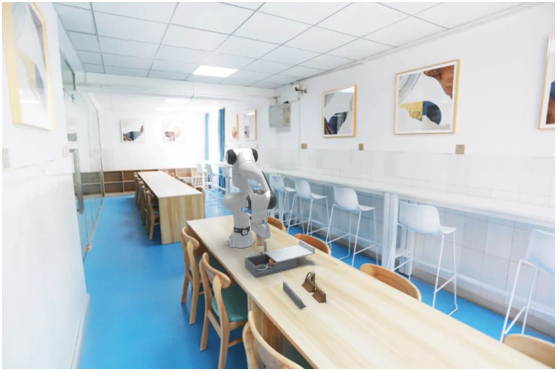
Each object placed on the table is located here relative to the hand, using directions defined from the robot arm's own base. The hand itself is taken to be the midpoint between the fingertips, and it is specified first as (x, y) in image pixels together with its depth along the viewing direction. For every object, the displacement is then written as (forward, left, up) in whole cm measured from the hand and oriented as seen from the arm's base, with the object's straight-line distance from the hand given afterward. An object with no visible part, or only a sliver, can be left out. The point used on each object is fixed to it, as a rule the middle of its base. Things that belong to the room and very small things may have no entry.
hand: (260, 242), depth 163 cm
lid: (0, +19, -11) cm, 22 cm away
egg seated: (0, +7, -17) cm, 18 cm away
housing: (0, +6, -18) cm, 19 cm away
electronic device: (-19, +7, -18) cm, 27 cm away
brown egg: (0, 0, -2) cm, 2 cm away
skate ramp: (+35, +13, -18) cm, 42 cm away
